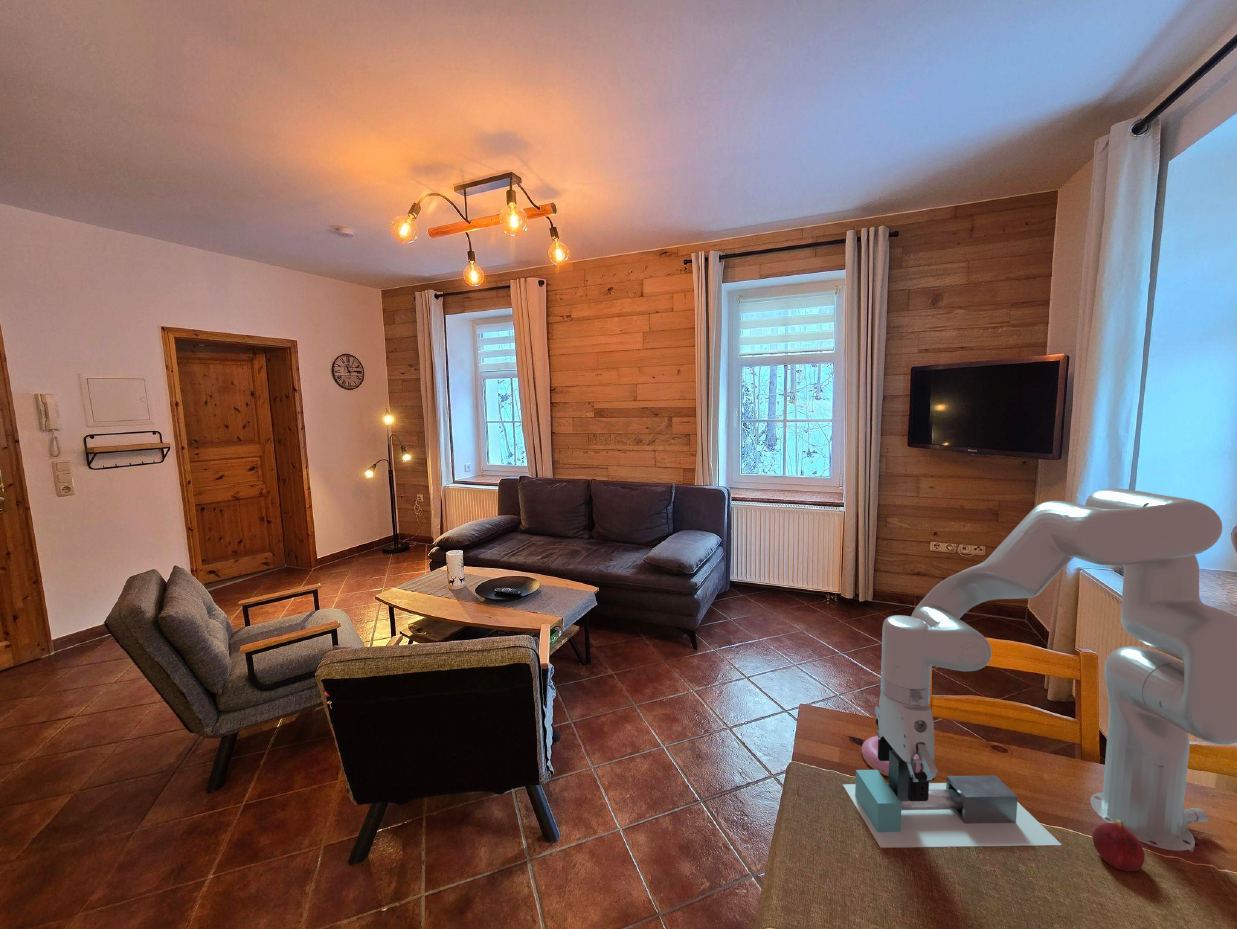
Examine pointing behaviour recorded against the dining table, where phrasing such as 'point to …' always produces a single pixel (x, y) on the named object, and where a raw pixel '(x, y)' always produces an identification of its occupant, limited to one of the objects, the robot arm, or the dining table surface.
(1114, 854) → the onion
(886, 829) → the socket
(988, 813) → the sleeve
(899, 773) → the silver bolt with handle
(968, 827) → the base board
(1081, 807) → the dining table surface
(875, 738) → the doughnut
